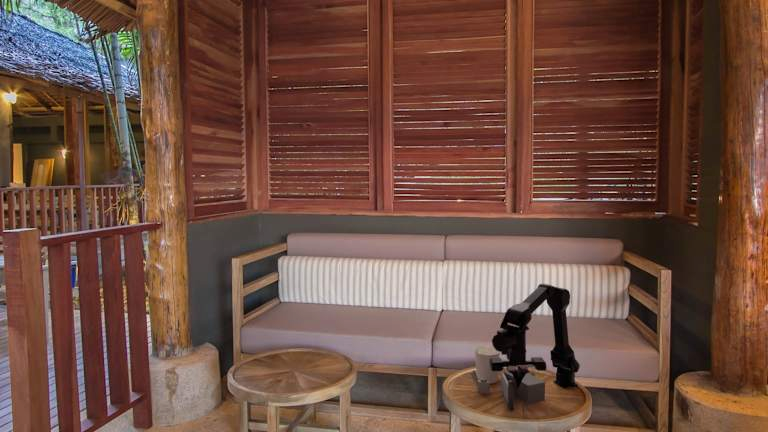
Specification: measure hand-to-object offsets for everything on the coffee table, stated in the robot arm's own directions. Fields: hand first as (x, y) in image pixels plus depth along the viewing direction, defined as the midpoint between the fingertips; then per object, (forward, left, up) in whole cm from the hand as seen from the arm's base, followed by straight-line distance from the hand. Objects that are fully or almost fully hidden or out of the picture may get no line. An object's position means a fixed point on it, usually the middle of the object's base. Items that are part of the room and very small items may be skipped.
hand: (517, 387), depth 182 cm
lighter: (+4, -17, -8) cm, 20 cm away
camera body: (-9, -8, -8) cm, 15 cm away
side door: (-1, -8, -7) cm, 11 cm away
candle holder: (-5, -26, -8) cm, 27 cm away
